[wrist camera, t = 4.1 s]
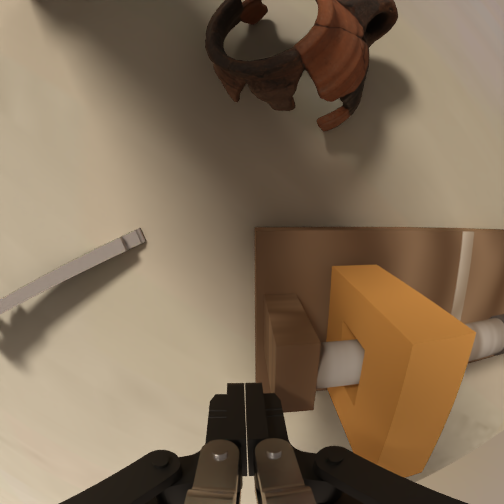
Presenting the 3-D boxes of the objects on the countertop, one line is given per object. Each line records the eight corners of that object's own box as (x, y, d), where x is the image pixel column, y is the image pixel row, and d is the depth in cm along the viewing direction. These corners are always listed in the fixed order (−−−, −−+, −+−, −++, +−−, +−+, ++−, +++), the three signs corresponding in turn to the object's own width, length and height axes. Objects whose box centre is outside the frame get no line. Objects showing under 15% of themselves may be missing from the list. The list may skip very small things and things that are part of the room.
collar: (322, 377, 21) (367, 487, 11) (331, 266, 19) (412, 344, 9) (362, 372, 21) (421, 472, 11) (376, 264, 19) (476, 332, 9)
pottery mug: (299, 169, 21) (242, 124, 13) (232, 84, 23) (167, 31, 15) (432, 73, 16) (436, -8, 9) (345, 2, 19) (315, -71, 11)
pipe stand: (255, 383, 23) (263, 463, 15) (254, 227, 21) (265, 258, 13) (502, 344, 24) (551, 381, 16) (525, 230, 22) (588, 248, 14)
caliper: (-18, 321, 22) (-56, 349, 16) (-23, 311, 21) (-62, 337, 15) (147, 240, 21) (114, 264, 15) (141, 225, 21) (105, 244, 15)
